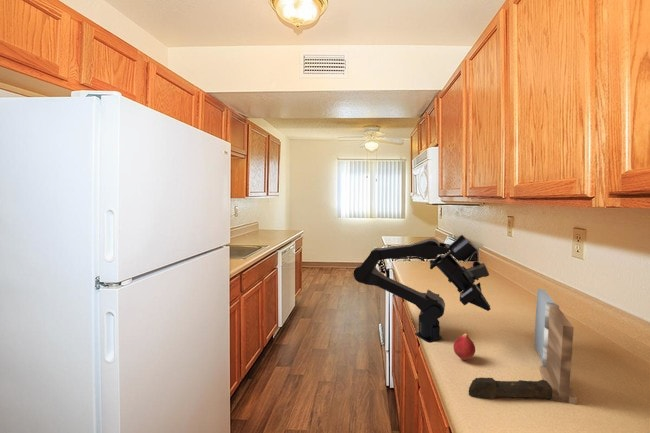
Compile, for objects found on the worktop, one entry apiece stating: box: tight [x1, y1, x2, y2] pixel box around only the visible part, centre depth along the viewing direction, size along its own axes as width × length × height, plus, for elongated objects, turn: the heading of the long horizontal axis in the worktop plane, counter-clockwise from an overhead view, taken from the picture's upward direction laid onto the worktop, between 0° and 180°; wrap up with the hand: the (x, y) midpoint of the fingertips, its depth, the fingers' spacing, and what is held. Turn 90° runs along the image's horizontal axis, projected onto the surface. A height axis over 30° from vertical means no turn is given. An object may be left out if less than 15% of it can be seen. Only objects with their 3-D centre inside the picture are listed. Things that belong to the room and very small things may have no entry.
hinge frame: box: [539, 303, 578, 406], centre depth 84 cm, size 5×16×18 cm, turn 157°
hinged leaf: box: [533, 288, 556, 363], centre depth 97 cm, size 3×16×18 cm, turn 157°
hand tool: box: [468, 377, 552, 401], centre depth 80 cm, size 19×4×5 cm, turn 87°
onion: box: [453, 333, 476, 361], centre depth 96 cm, size 6×6×8 cm
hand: (489, 308), depth 104 cm, fingers closed
